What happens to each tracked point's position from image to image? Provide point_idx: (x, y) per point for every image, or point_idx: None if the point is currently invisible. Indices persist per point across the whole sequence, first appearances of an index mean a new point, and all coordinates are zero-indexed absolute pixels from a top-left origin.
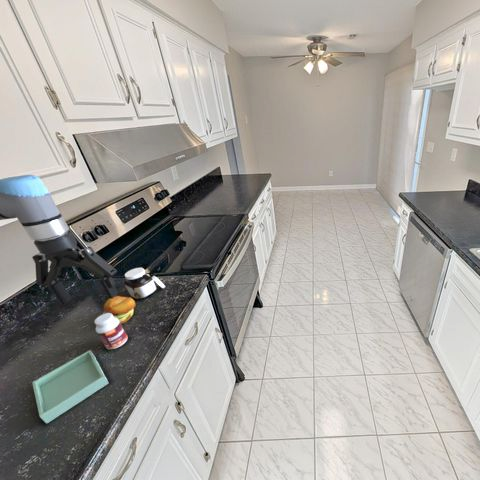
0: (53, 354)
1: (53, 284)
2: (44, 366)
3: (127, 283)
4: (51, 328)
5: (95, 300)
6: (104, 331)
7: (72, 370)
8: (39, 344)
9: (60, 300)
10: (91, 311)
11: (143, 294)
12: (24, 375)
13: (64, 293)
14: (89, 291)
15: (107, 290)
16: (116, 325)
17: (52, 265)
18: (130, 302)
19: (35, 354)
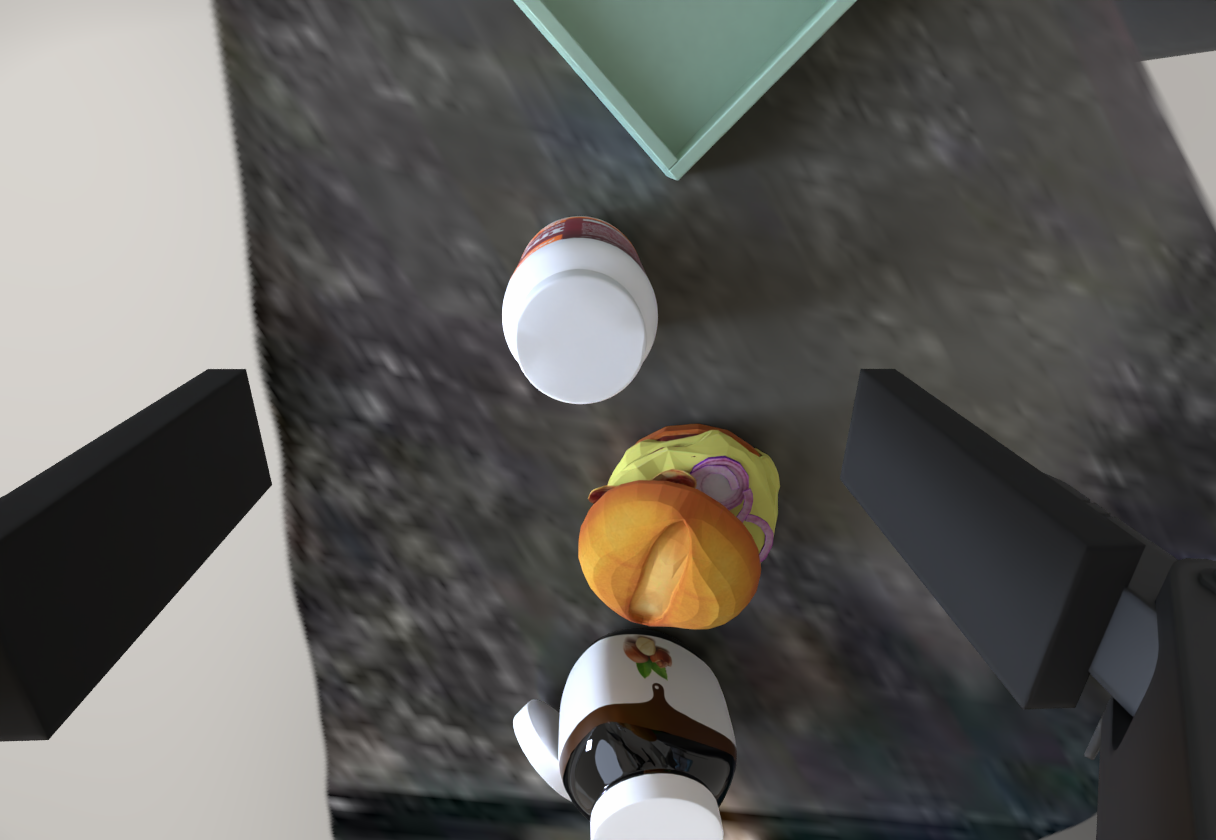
0: (956, 248)
1: (1104, 609)
2: (960, 151)
3: (697, 745)
4: (1080, 473)
5: (929, 660)
6: (556, 244)
7: (741, 58)
8: (1087, 351)
9: (916, 394)
10: (905, 575)
11: (600, 654)
12: (1049, 94)
13: (904, 498)
14: (1003, 734)
15: (122, 430)
16: (503, 307)
17: None
18: (586, 567)
19: (1070, 269)
